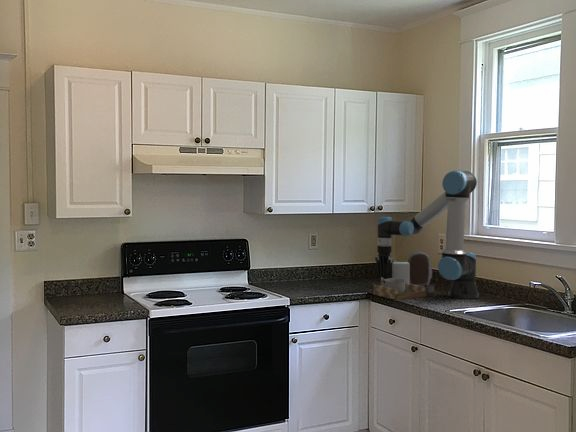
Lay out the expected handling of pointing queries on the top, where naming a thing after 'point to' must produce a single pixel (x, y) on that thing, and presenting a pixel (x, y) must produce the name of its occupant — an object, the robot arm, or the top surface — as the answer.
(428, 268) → the dark brown rounded block
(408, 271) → the supplement box
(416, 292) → the bay
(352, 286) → the top surface
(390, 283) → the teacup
